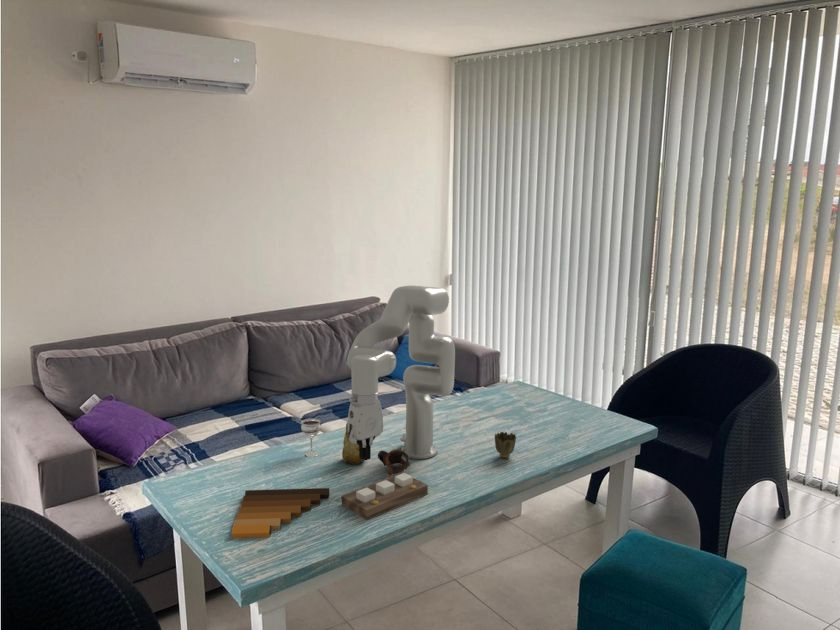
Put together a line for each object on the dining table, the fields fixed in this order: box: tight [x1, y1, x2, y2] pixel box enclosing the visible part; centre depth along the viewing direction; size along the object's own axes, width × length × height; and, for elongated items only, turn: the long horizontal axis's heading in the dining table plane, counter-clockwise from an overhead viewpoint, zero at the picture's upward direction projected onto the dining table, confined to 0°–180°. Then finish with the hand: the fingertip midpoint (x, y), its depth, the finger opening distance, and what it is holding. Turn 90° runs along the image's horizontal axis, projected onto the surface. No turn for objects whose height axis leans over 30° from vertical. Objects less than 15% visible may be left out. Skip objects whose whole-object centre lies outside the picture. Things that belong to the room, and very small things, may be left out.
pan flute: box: [231, 487, 330, 539], centre depth 202 cm, size 25×3×25 cm
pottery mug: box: [377, 449, 411, 477], centre depth 232 cm, size 12×10×8 cm
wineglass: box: [300, 417, 322, 458], centre depth 244 cm, size 7×7×12 cm
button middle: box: [376, 480, 395, 495], centre depth 212 cm, size 4×4×2 cm
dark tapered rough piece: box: [494, 431, 517, 460], centre depth 243 cm, size 8×7×8 cm
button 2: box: [395, 472, 414, 487], centre depth 217 cm, size 4×4×2 cm
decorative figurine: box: [341, 421, 366, 465], centre depth 238 cm, size 10×8×15 cm
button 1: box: [356, 487, 375, 503], centre depth 207 cm, size 4×4×2 cm
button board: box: [340, 472, 429, 521], centre depth 212 cm, size 12×24×3 cm, turn 133°
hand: (364, 458), depth 204 cm, fingers closed
